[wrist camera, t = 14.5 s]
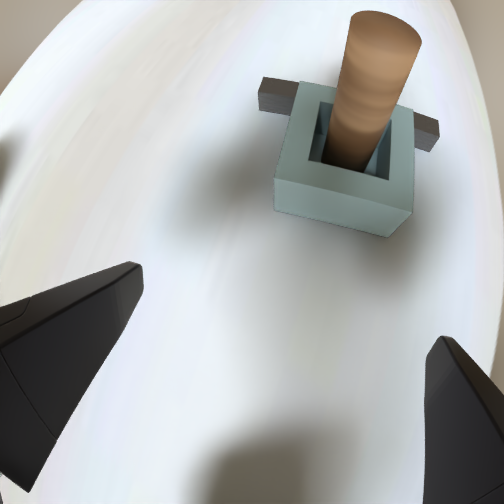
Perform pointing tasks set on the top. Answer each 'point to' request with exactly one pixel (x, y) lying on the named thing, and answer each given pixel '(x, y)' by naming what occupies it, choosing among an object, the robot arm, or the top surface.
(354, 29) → the dowel
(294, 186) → the socket block
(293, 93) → the backstop bar
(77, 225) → the top surface
